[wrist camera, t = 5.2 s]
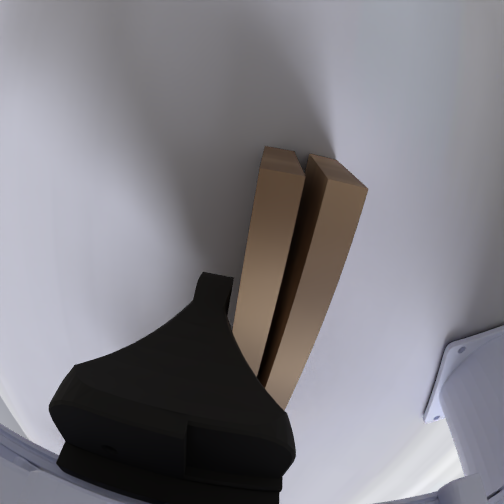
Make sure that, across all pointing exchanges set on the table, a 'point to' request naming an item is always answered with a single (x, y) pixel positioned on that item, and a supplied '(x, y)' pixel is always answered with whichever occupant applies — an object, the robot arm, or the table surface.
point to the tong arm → (267, 249)
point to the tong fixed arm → (310, 271)
